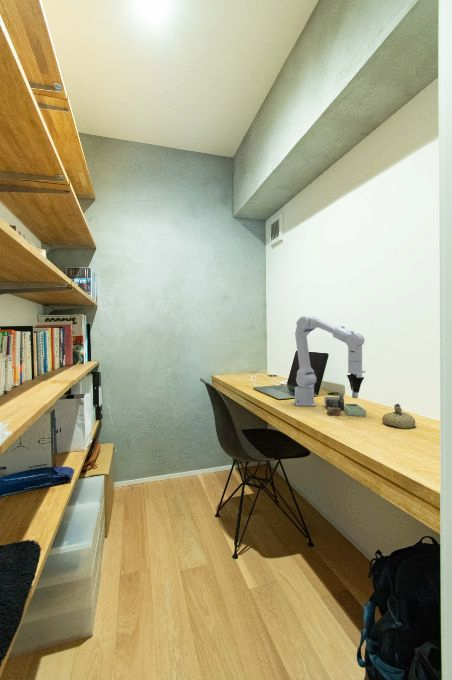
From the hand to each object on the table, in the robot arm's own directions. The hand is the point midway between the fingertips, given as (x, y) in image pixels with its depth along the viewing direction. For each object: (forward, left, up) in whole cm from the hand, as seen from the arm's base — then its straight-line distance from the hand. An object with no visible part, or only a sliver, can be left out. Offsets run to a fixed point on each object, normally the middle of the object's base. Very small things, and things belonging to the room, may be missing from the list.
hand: (355, 391), depth 136 cm
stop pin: (0, +1, -3) cm, 3 cm away
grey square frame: (+1, +9, -10) cm, 13 cm away
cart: (-7, +9, -10) cm, 15 cm away
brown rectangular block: (-10, -2, -10) cm, 14 cm away
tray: (0, 0, -10) cm, 10 cm away
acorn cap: (+12, -14, -10) cm, 22 cm away
